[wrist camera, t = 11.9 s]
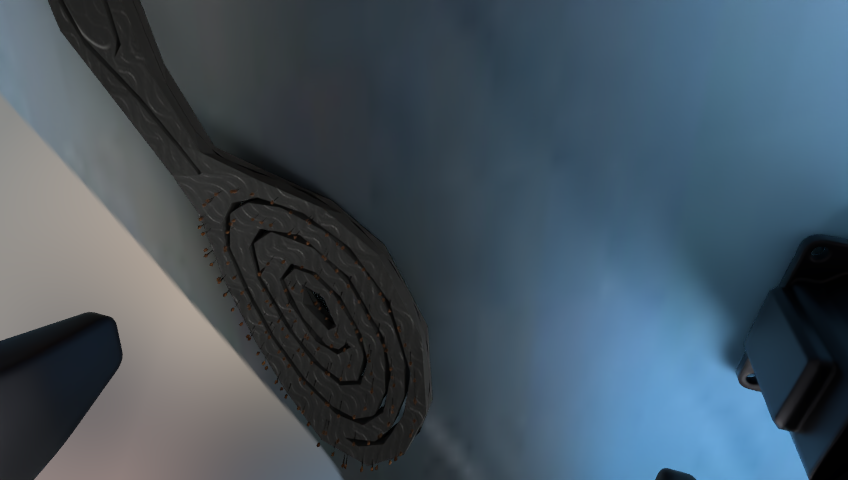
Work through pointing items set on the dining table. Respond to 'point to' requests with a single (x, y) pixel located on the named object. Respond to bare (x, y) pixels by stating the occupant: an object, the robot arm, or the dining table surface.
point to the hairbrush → (277, 254)
